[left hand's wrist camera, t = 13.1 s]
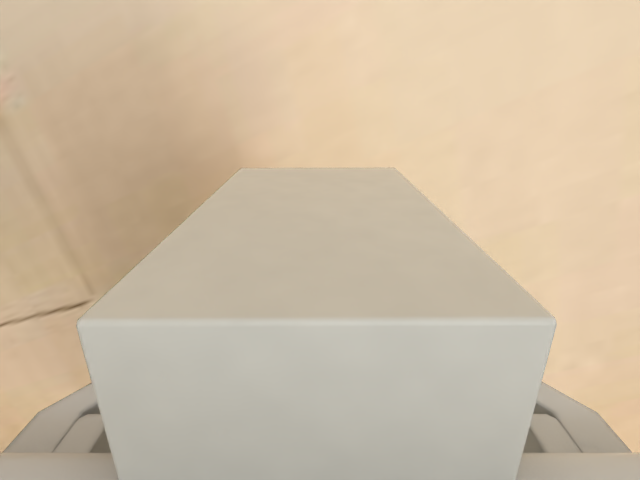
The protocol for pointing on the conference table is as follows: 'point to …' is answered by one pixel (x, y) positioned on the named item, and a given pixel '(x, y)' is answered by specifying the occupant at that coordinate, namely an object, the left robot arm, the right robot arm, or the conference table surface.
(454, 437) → the bar
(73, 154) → the conference table surface
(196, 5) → the conference table surface
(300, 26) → the conference table surface
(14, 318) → the conference table surface
